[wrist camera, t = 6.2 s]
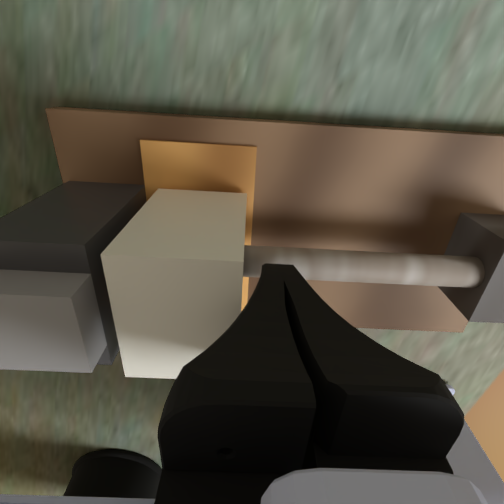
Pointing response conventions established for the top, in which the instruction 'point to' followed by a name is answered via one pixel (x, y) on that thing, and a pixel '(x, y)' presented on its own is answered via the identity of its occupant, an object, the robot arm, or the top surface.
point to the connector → (61, 277)
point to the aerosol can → (114, 476)
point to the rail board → (327, 204)
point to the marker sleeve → (175, 278)
